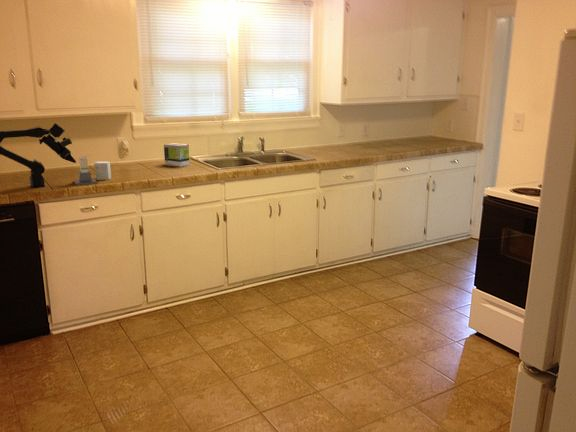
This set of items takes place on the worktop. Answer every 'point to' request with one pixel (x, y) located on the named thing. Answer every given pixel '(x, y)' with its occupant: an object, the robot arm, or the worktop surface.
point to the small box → (102, 170)
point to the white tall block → (83, 164)
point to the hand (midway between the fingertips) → (74, 161)
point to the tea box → (176, 154)
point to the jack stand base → (85, 179)
